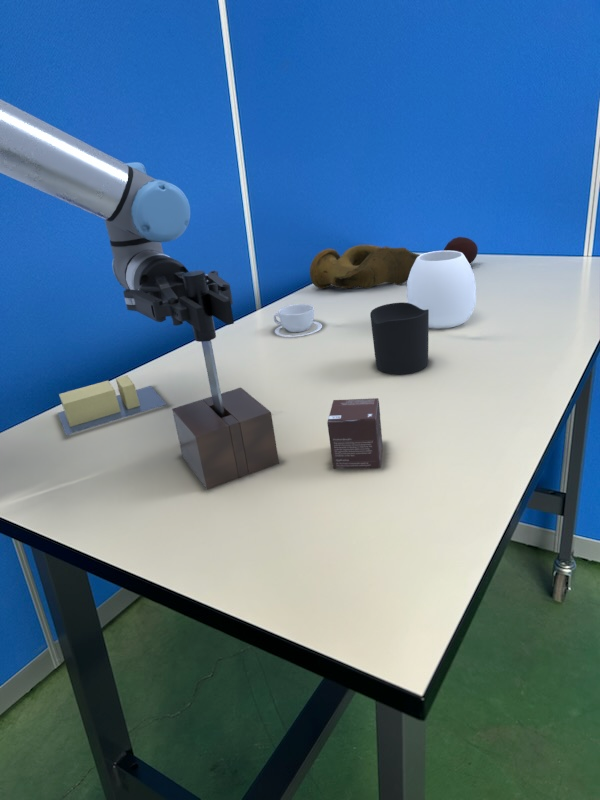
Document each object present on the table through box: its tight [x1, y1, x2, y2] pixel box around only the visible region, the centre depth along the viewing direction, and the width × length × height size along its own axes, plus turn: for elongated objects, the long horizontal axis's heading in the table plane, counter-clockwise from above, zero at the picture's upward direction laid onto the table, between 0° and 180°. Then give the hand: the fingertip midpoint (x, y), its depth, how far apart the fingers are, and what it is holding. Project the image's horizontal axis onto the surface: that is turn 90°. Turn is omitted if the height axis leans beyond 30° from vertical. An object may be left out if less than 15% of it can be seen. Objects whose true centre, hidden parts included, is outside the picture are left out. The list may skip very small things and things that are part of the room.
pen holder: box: [369, 302, 430, 376], centre depth 104 cm, size 9×9×10 cm
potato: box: [443, 236, 479, 265], centre depth 159 cm, size 8×9×8 cm
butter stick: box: [58, 380, 121, 427], centre depth 100 cm, size 8×5×4 cm, turn 117°
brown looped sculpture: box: [309, 244, 421, 290], centre depth 151 cm, size 18×13×22 cm
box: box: [326, 397, 384, 470], centre depth 79 cm, size 6×6×7 cm
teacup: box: [273, 303, 323, 338], centre depth 129 cm, size 10×10×5 cm
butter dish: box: [57, 385, 167, 436], centre depth 103 cm, size 16×10×1 cm, turn 117°
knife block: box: [171, 387, 280, 490], centre depth 82 cm, size 10×10×8 cm
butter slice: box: [115, 374, 140, 409], centre depth 103 cm, size 2×5×4 cm, turn 27°
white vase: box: [406, 250, 477, 330], centre depth 121 cm, size 13×13×14 cm
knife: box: [182, 270, 225, 418], centre depth 77 cm, size 3×3×20 cm
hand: (215, 316), depth 70 cm, fingers closed on knife, 3 cm apart
